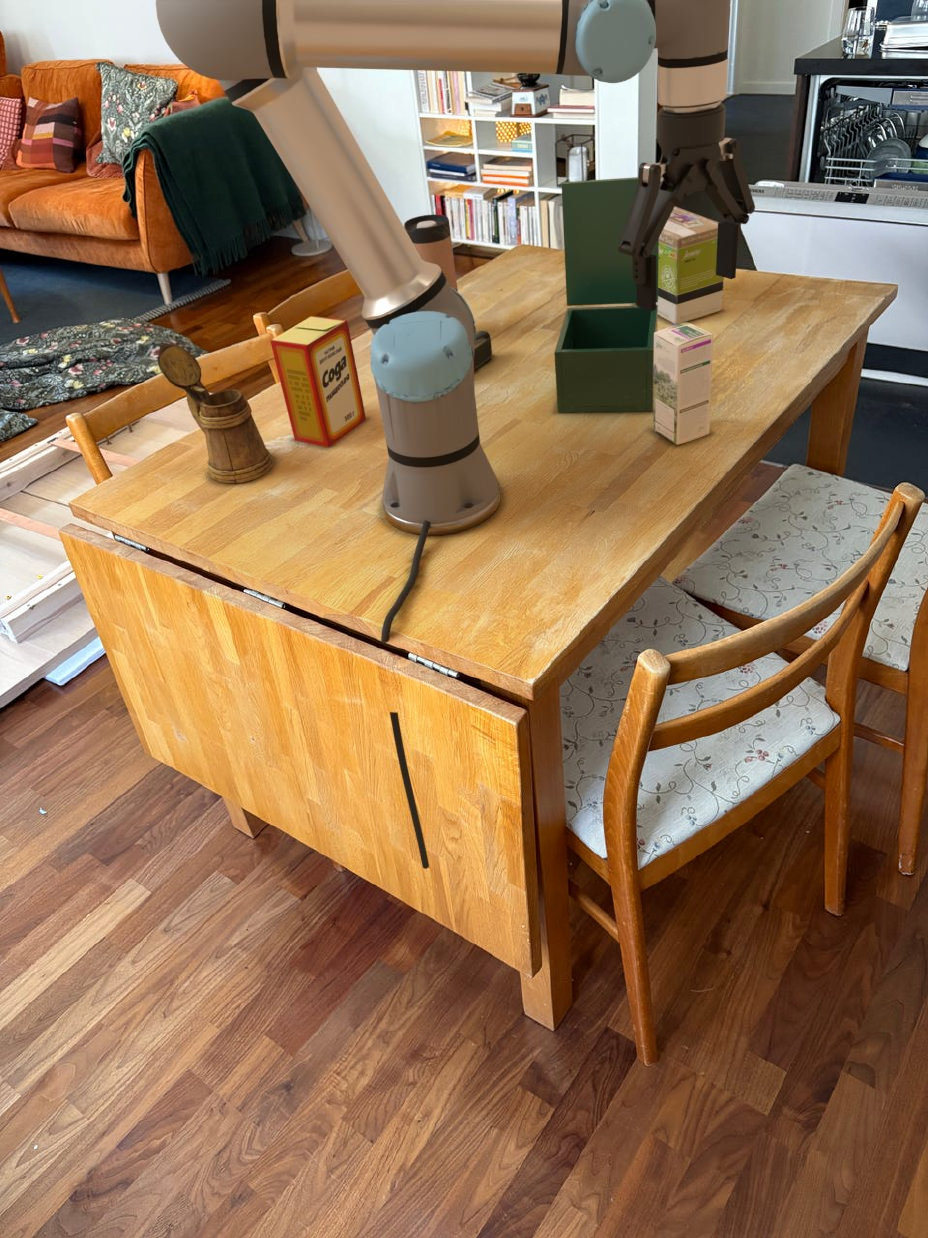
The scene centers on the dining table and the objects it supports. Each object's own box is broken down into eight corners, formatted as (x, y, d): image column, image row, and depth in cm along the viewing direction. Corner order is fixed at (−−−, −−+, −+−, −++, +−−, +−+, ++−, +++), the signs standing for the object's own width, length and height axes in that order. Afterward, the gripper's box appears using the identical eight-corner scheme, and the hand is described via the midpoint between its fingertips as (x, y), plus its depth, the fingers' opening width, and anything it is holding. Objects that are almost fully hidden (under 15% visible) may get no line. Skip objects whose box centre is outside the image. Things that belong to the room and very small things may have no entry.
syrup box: (711, 434, 131) (716, 332, 122) (675, 446, 130) (678, 344, 121) (686, 418, 135) (689, 319, 126) (651, 431, 134) (652, 330, 125)
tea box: (626, 301, 173) (625, 216, 164) (673, 288, 176) (675, 203, 166) (675, 326, 162) (677, 236, 153) (724, 311, 164) (729, 222, 155)
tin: (652, 411, 138) (653, 349, 133) (557, 412, 141) (554, 352, 136) (657, 362, 151) (657, 304, 145) (569, 365, 154) (567, 307, 148)
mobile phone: (478, 327, 159) (425, 360, 149) (493, 329, 157) (441, 363, 148) (481, 355, 161) (429, 390, 152) (496, 358, 160) (444, 393, 151)
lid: (659, 177, 134) (661, 162, 140) (561, 183, 137) (567, 169, 143) (657, 302, 145) (659, 284, 151) (566, 305, 148) (572, 287, 154)
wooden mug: (217, 444, 146) (183, 330, 135) (285, 459, 139) (255, 340, 128) (176, 472, 140) (137, 355, 129) (245, 489, 134) (209, 367, 123)
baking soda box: (328, 447, 141) (305, 343, 131) (294, 440, 144) (269, 337, 134) (366, 419, 147) (346, 317, 137) (332, 412, 150) (311, 313, 140)
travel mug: (464, 328, 171) (451, 212, 159) (460, 345, 165) (446, 226, 153) (422, 331, 172) (406, 216, 160) (417, 348, 167) (399, 230, 154)
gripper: (745, 79, 115) (735, 258, 128) (583, 125, 105) (590, 314, 118) (794, 83, 110) (779, 269, 123) (629, 133, 100) (631, 329, 113)
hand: (686, 291), depth 120 cm, fingers open, 13 cm apart
